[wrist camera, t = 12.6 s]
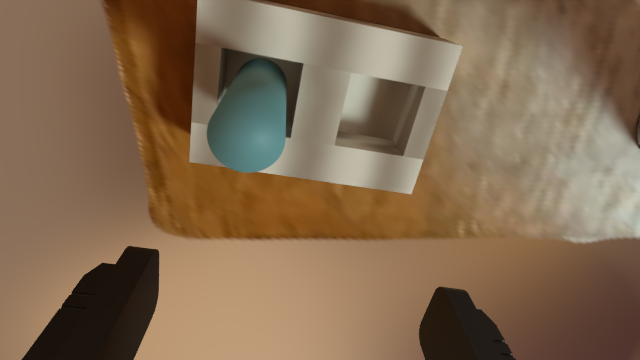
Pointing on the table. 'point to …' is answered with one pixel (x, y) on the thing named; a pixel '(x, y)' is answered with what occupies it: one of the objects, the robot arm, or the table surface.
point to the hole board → (328, 89)
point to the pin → (251, 118)
